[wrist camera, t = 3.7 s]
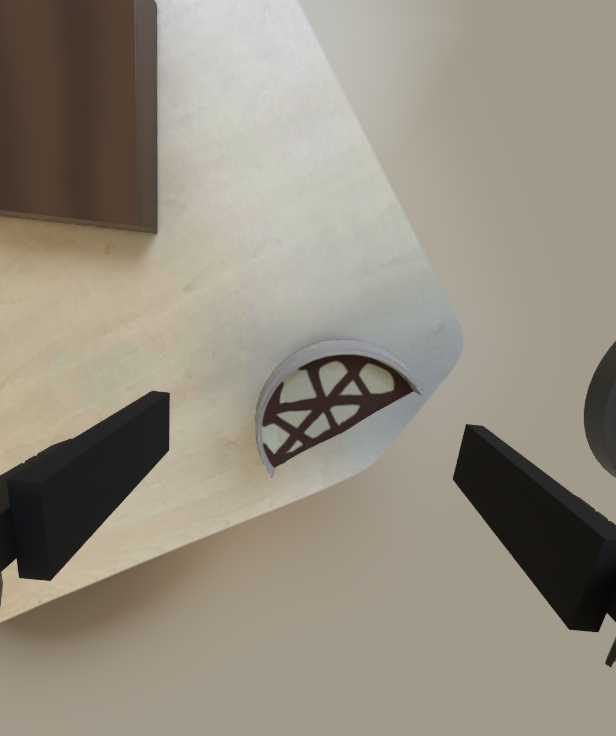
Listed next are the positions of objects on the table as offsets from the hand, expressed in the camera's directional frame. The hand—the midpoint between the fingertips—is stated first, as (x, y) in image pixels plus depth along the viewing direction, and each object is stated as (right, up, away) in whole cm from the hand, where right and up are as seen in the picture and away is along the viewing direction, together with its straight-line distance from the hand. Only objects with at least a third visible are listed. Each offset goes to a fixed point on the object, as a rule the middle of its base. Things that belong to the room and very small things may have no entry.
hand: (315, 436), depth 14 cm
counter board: (-22, +23, +11) cm, 34 cm away
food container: (0, +3, +16) cm, 16 cm away
